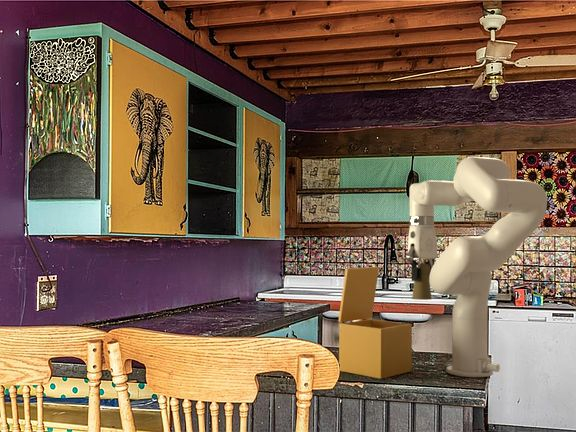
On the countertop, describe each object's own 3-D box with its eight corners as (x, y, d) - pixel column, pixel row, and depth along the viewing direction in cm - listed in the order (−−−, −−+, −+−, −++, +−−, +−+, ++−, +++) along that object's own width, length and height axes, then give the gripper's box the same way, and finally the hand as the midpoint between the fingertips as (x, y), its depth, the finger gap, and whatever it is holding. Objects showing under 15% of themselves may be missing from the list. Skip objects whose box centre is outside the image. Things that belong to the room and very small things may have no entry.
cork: (430, 299, 210) (429, 263, 210) (410, 299, 212) (410, 263, 212) (433, 298, 215) (433, 263, 216) (414, 297, 217) (413, 263, 218)
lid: (379, 267, 202) (365, 263, 206) (347, 268, 192) (334, 265, 195) (371, 318, 204) (358, 313, 207) (340, 322, 193) (327, 317, 197)
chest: (411, 371, 194) (412, 324, 194) (380, 378, 183) (381, 329, 183) (370, 363, 204) (370, 319, 204) (338, 370, 193) (339, 323, 194)
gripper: (416, 221, 206) (416, 282, 205) (446, 223, 218) (447, 280, 217) (395, 222, 211) (395, 281, 210) (426, 223, 223) (427, 279, 222)
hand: (421, 280), depth 214 cm, fingers closed on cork, 5 cm apart
